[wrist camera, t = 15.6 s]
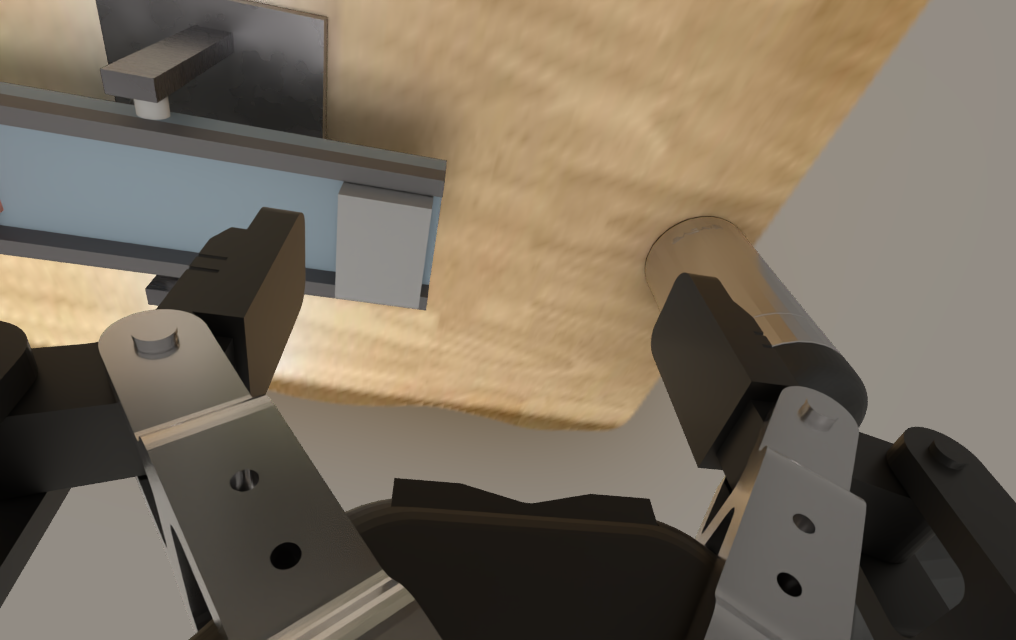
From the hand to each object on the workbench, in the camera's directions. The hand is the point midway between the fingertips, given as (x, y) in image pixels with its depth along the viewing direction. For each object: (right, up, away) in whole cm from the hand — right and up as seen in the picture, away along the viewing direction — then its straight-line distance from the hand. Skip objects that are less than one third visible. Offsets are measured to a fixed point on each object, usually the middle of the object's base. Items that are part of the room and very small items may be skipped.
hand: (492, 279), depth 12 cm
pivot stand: (-20, +13, +30) cm, 39 cm away
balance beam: (-20, +7, +21) cm, 30 cm away
